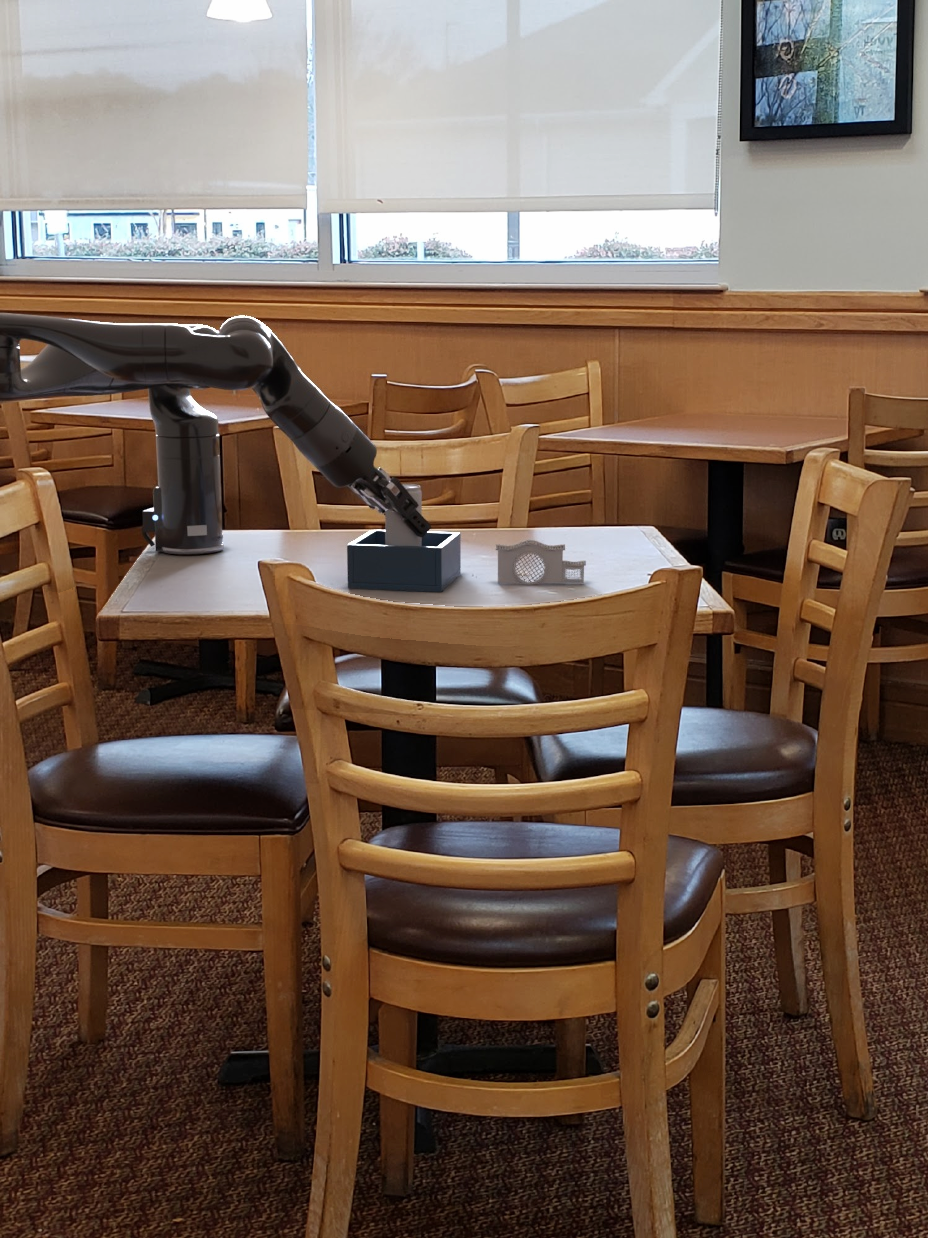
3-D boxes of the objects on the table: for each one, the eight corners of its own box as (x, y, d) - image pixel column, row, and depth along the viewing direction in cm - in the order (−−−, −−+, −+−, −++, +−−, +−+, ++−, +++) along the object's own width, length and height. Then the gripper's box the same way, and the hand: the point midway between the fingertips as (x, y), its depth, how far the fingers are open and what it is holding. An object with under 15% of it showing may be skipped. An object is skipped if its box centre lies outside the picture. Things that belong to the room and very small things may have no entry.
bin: (347, 588, 192) (346, 544, 191) (371, 570, 204) (371, 529, 203) (441, 592, 190) (441, 547, 189) (460, 574, 202) (460, 532, 201)
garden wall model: (584, 582, 196) (585, 538, 195) (585, 584, 195) (586, 540, 193) (495, 582, 196) (495, 538, 195) (495, 584, 195) (495, 540, 193)
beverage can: (416, 579, 194) (417, 488, 191) (381, 577, 195) (381, 487, 192) (424, 572, 199) (425, 484, 196) (390, 571, 200) (390, 483, 197)
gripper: (292, 459, 194) (375, 542, 202) (336, 470, 181) (423, 558, 190) (328, 417, 195) (410, 501, 203) (375, 426, 183) (459, 515, 191)
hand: (416, 528), depth 196 cm, fingers closed on beverage can, 4 cm apart
